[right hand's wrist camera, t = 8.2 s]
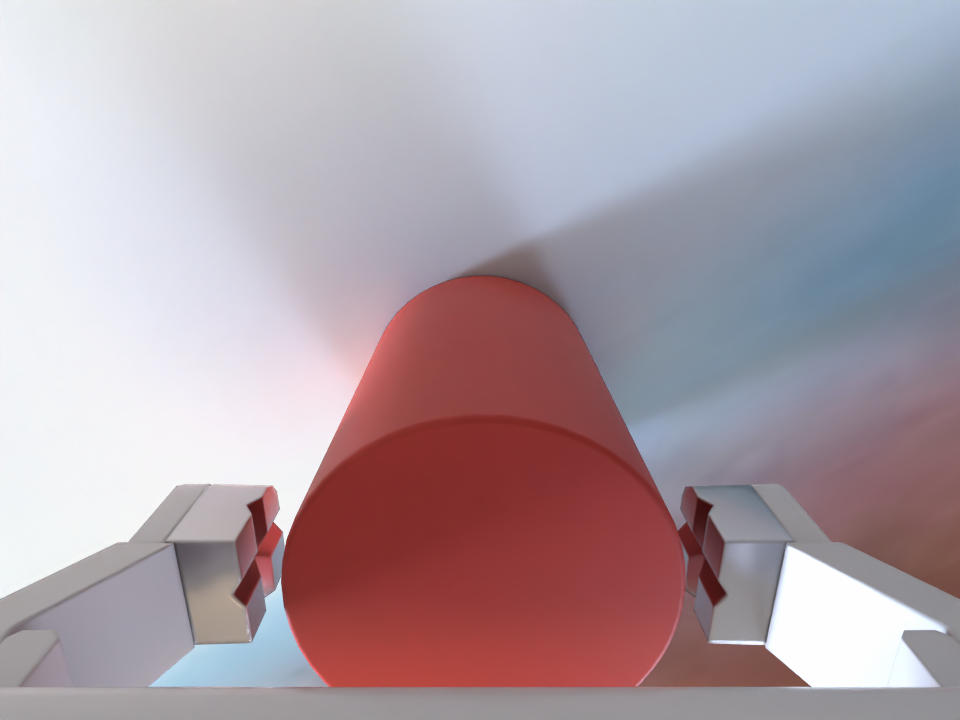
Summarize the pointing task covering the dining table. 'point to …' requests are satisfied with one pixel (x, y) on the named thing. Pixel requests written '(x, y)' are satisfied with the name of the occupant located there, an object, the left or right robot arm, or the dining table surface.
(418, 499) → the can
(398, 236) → the dining table surface
